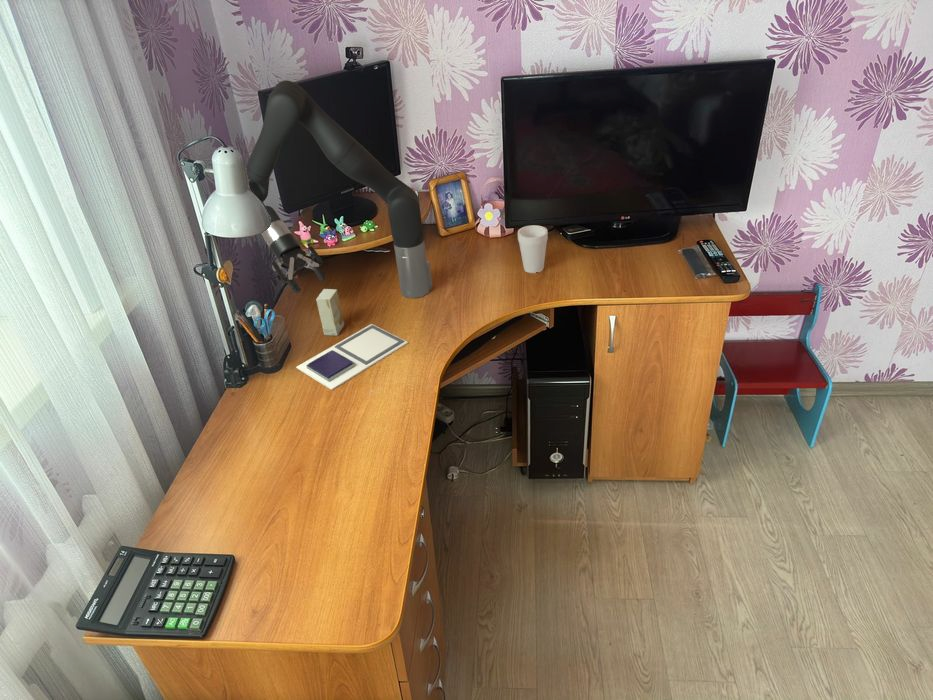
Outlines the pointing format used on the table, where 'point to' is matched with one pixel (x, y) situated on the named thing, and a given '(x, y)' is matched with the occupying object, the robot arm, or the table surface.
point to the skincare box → (330, 312)
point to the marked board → (358, 353)
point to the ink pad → (330, 365)
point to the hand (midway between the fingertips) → (311, 285)
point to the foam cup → (533, 247)
